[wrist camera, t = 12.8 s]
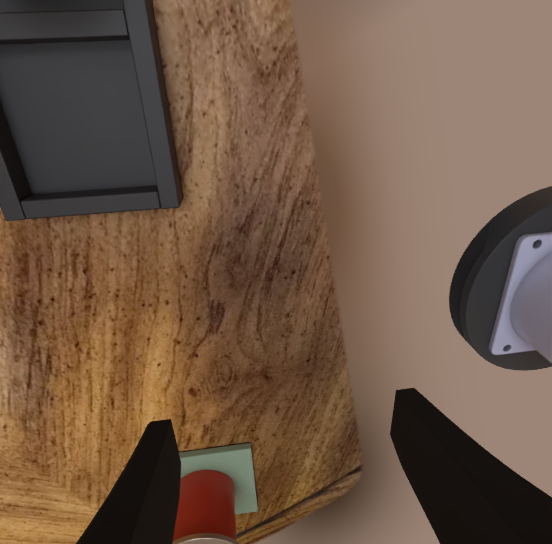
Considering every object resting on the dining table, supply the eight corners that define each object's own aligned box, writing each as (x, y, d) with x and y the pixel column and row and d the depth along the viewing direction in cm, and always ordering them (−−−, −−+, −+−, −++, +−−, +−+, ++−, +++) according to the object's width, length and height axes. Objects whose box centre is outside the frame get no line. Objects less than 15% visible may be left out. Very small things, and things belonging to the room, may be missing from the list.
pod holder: (115, -232, 12) (99, -277, 10) (183, 198, 18) (179, 207, 16) (-138, -238, 11) (-192, -288, 9) (23, 210, 17) (5, 221, 16)
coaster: (250, 442, 25) (251, 448, 25) (257, 504, 29) (257, 511, 28) (146, 456, 25) (144, 463, 24) (165, 518, 28) (164, 525, 27)
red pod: (236, 460, 25) (238, 532, 21) (243, 505, 28) (246, 577, 23) (162, 471, 25) (149, 546, 21) (175, 516, 27) (166, 591, 23)
